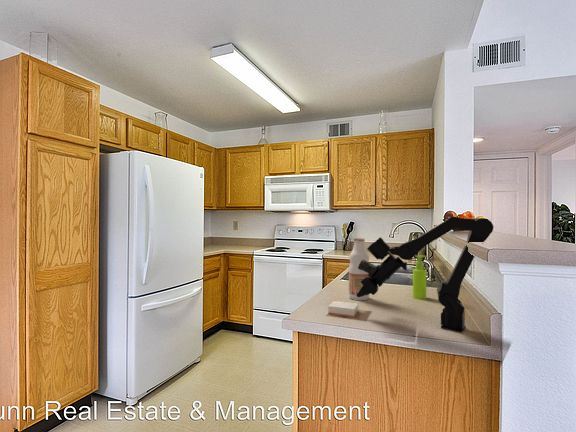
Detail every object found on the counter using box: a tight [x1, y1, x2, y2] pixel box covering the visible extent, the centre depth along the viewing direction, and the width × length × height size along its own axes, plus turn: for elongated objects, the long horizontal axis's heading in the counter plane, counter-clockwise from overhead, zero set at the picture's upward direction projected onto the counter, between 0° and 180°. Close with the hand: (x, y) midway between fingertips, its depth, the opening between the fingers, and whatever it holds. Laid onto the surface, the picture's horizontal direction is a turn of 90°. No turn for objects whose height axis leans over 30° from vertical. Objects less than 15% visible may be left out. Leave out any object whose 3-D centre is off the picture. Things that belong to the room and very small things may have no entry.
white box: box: [327, 300, 359, 317], centre depth 123 cm, size 3×8×10 cm
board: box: [325, 309, 372, 322], centre depth 122 cm, size 15×13×1 cm
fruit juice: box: [348, 237, 370, 301], centre depth 148 cm, size 9×9×28 cm
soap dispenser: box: [412, 254, 429, 300], centre depth 149 cm, size 6×7×20 cm
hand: (357, 296), depth 121 cm, fingers closed
